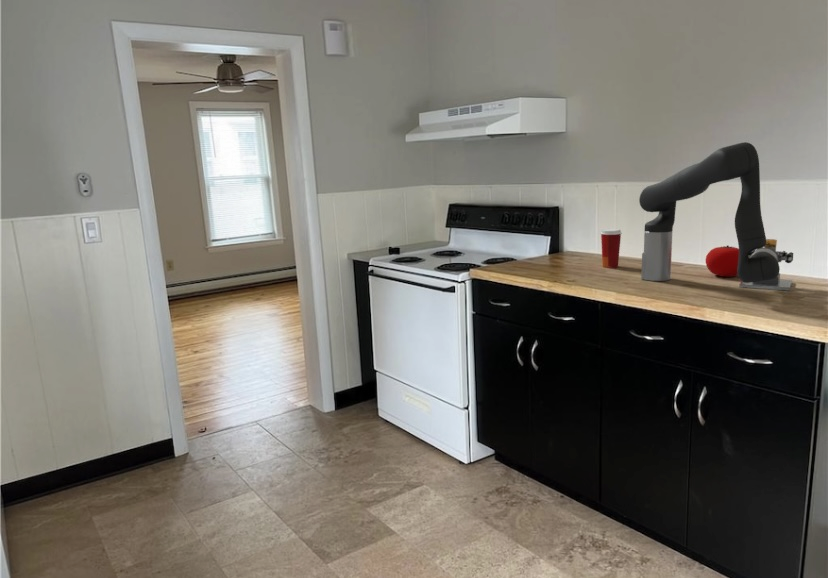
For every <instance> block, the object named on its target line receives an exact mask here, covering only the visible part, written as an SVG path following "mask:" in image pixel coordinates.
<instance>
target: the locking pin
mask: <svg viewBox="0 0 828 578" xmlns="http://www.w3.org/2000/svg"><path fill="white" fill-rule="evenodd" d="M777 241H778V240H777V239H774V238H766V245H765V246H764V247H770V248H772V249H774V250H775V251H777V245H778V244H777V243H778V242H777Z"/></svg>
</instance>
